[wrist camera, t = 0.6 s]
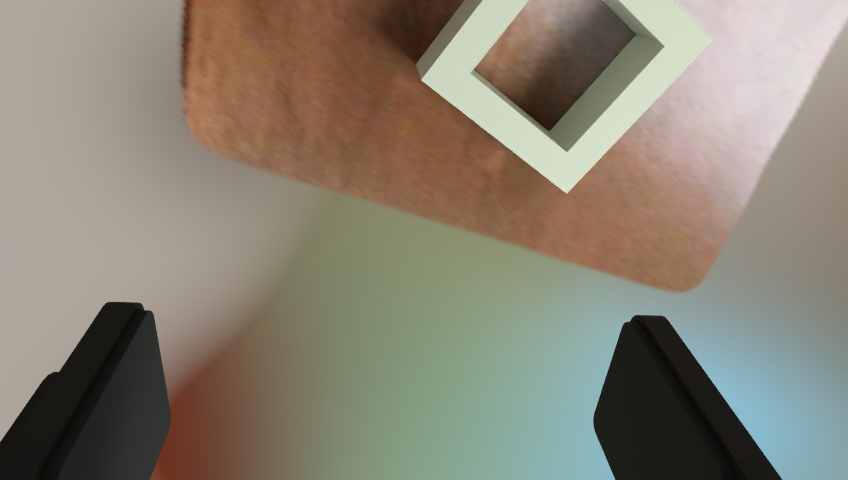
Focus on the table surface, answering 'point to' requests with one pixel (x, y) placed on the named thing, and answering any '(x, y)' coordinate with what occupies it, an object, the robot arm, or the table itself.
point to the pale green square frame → (597, 107)
